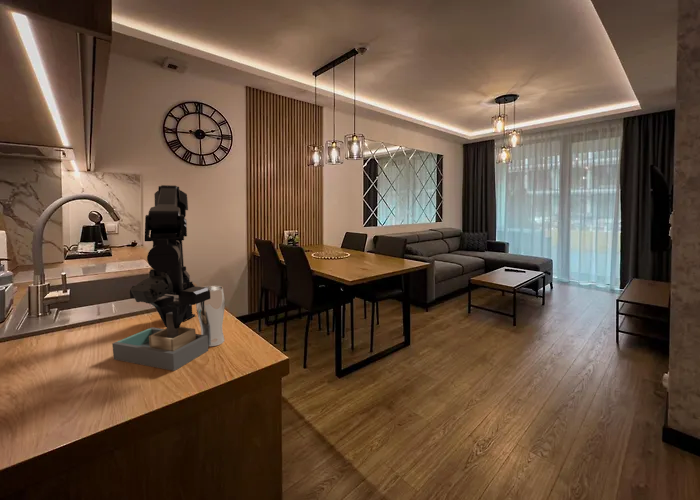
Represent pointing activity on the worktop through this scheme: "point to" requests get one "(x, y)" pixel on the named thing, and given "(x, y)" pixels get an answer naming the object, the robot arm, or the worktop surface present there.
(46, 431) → the worktop surface
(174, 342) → the crate
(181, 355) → the bay
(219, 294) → the beer glass
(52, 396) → the worktop surface
